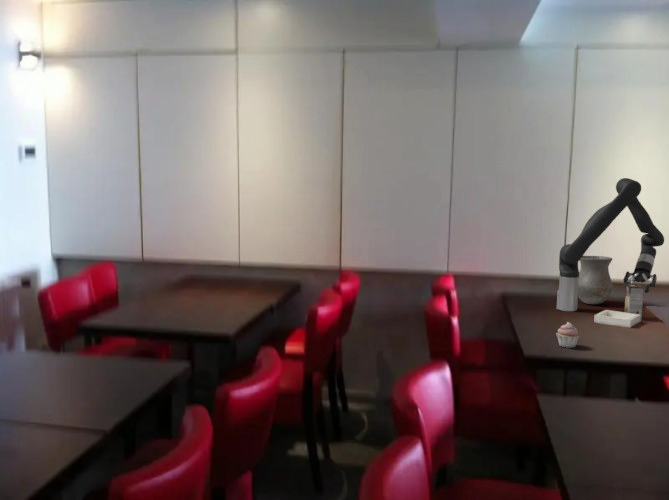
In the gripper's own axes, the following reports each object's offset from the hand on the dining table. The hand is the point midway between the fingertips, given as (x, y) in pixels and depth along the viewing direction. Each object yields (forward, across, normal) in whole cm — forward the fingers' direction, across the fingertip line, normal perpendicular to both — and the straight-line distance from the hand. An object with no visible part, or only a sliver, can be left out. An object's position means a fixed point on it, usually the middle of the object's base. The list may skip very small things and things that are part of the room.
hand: (636, 291), depth 321 cm
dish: (+22, -3, -3) cm, 22 cm away
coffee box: (+12, 0, +7) cm, 14 cm away
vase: (-5, -27, +23) cm, 36 cm away
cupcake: (+63, -5, -44) cm, 77 cm away
